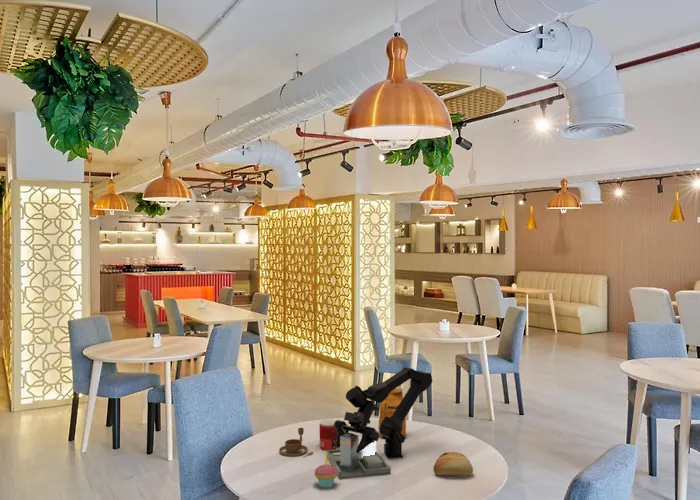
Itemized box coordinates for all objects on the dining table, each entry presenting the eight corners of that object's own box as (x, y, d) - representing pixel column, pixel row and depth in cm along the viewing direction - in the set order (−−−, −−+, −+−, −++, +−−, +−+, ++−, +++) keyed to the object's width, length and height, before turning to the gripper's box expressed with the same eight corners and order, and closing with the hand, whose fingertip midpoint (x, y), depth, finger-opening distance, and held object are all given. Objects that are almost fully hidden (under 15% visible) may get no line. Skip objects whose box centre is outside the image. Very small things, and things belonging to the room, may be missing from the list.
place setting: (268, 452, 251) (268, 438, 251) (299, 440, 267) (299, 427, 267) (299, 461, 241) (299, 447, 241) (330, 448, 257) (330, 434, 257)
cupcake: (314, 480, 220) (314, 448, 220) (337, 479, 221) (337, 447, 221) (315, 490, 212) (314, 456, 211) (338, 489, 212) (338, 456, 212)
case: (372, 450, 251) (372, 441, 251) (390, 474, 226) (390, 463, 226) (325, 455, 247) (325, 445, 247) (339, 479, 221) (339, 468, 221)
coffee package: (406, 440, 265) (406, 390, 265) (378, 439, 266) (378, 390, 266) (405, 432, 275) (405, 385, 275) (378, 432, 276) (378, 385, 276)
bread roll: (431, 470, 230) (431, 449, 230) (469, 469, 231) (469, 449, 231) (435, 480, 221) (435, 458, 221) (475, 479, 221) (475, 458, 221)
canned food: (335, 451, 251) (335, 425, 251) (317, 450, 253) (317, 424, 252) (339, 445, 258) (339, 420, 258) (321, 444, 260) (321, 419, 260)
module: (348, 466, 232) (348, 431, 232) (358, 468, 229) (358, 433, 229) (340, 470, 228) (340, 434, 228) (350, 473, 225) (350, 437, 225)
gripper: (336, 399, 237) (318, 434, 228) (375, 407, 226) (358, 444, 217) (348, 414, 243) (331, 449, 234) (386, 422, 232) (370, 459, 223)
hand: (347, 450), depth 227 cm, fingers open, 9 cm apart
